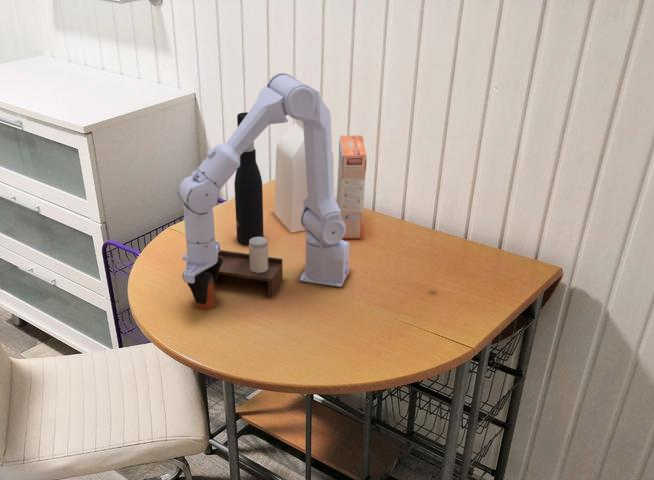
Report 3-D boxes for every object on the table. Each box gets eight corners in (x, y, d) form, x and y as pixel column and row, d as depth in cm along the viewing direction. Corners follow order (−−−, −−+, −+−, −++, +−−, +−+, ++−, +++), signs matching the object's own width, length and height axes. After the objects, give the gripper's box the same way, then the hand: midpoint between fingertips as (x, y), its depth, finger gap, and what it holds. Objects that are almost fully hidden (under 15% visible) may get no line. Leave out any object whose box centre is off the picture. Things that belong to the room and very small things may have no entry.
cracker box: (362, 239, 178) (367, 155, 166) (337, 239, 178) (340, 155, 166) (359, 215, 189) (363, 134, 177) (335, 215, 190) (338, 134, 177)
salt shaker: (270, 265, 158) (270, 237, 154) (265, 274, 155) (264, 246, 151) (253, 262, 159) (252, 235, 155) (247, 271, 156) (245, 243, 152)
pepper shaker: (218, 300, 155) (216, 273, 151) (211, 310, 152) (208, 282, 148) (200, 297, 156) (198, 270, 152) (193, 307, 153) (190, 279, 149)
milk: (273, 213, 190) (272, 111, 175) (314, 206, 194) (316, 106, 179) (291, 232, 181) (291, 127, 166) (334, 225, 185) (337, 120, 170)
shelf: (282, 281, 162) (282, 258, 159) (272, 298, 156) (271, 275, 153) (218, 271, 165) (217, 249, 162) (206, 287, 160) (204, 265, 156)
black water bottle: (268, 238, 179) (266, 113, 161) (253, 248, 174) (249, 121, 157) (247, 231, 182) (242, 108, 164) (231, 241, 177) (225, 116, 160)
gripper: (196, 219, 152) (200, 277, 160) (166, 251, 141) (173, 311, 149) (228, 224, 150) (231, 282, 158) (200, 256, 139) (205, 317, 147)
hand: (205, 297), depth 153 cm, fingers closed on pepper shaker, 4 cm apart
